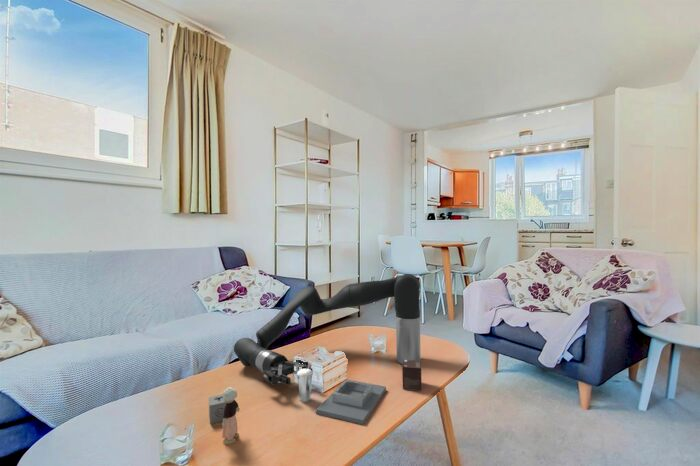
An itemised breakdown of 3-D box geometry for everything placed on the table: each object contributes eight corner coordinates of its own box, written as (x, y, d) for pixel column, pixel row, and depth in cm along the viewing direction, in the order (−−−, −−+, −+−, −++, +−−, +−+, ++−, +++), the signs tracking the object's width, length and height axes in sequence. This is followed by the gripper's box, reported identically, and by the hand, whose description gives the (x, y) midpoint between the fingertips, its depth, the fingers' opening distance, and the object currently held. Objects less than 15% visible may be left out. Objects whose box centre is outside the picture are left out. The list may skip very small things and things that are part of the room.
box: (421, 391, 104) (421, 368, 104) (402, 389, 105) (402, 366, 105) (421, 382, 110) (421, 360, 110) (403, 381, 111) (402, 359, 111)
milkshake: (316, 395, 102) (315, 363, 102) (308, 404, 97) (308, 370, 97) (303, 393, 104) (302, 361, 104) (294, 402, 99) (294, 368, 99)
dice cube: (228, 410, 95) (227, 393, 95) (230, 419, 90) (229, 401, 90) (209, 415, 93) (208, 397, 93) (210, 424, 88) (209, 405, 88)
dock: (345, 382, 111) (345, 371, 111) (385, 390, 105) (385, 378, 105) (316, 413, 92) (316, 400, 92) (363, 424, 87) (362, 410, 87)
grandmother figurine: (226, 430, 85) (225, 381, 85) (242, 429, 85) (241, 380, 85) (217, 450, 77) (216, 396, 77) (234, 449, 78) (233, 395, 78)
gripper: (252, 358, 108) (281, 372, 97) (288, 346, 118) (318, 358, 107) (252, 381, 108) (282, 398, 97) (288, 367, 118) (318, 381, 107)
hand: (301, 377), depth 102 cm, fingers open, 8 cm apart
